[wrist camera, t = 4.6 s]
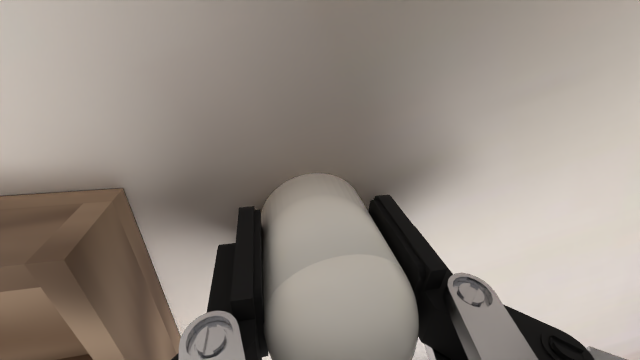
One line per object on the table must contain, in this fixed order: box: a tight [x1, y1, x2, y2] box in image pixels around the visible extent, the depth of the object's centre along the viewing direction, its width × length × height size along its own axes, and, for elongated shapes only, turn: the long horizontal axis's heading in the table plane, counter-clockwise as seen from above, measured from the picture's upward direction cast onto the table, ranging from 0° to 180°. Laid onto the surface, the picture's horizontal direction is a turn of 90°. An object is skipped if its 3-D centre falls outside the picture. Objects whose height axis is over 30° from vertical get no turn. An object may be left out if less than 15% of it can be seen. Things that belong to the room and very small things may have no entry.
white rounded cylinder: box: [261, 173, 419, 360], centre depth 9 cm, size 4×4×7 cm
